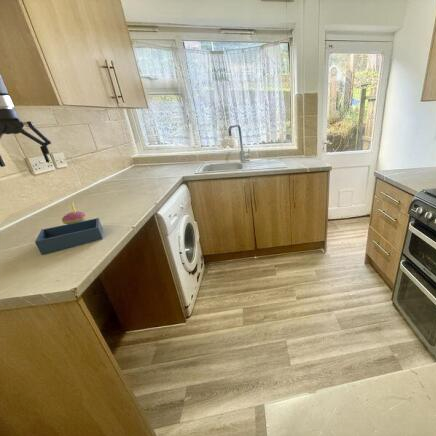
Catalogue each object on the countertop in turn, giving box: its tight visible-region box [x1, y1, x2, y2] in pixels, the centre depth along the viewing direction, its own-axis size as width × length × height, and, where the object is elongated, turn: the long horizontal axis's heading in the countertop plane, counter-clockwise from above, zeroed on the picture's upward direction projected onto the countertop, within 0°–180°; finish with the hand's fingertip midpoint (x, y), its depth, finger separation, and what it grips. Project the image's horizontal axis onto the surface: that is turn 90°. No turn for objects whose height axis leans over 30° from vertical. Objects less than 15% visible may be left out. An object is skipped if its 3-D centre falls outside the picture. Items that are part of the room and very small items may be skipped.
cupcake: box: [61, 201, 88, 225], centre depth 109 cm, size 9×8×12 cm
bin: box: [34, 217, 104, 255], centre depth 98 cm, size 19×13×6 cm
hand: (26, 164), depth 102 cm, fingers open, 13 cm apart
